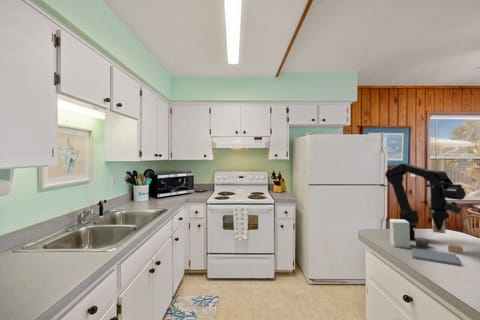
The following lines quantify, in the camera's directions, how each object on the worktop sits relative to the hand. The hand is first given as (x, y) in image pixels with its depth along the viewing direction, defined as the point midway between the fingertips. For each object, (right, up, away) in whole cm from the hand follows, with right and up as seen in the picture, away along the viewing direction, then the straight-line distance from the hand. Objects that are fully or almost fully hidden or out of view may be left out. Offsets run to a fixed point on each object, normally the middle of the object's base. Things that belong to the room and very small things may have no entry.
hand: (438, 229), depth 121 cm
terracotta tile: (+5, -10, -4) cm, 12 cm away
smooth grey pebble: (-5, -10, +4) cm, 12 cm away
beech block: (0, -1, 0) cm, 1 cm away
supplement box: (-15, -10, +6) cm, 19 cm away
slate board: (-10, -10, -10) cm, 17 cm away
